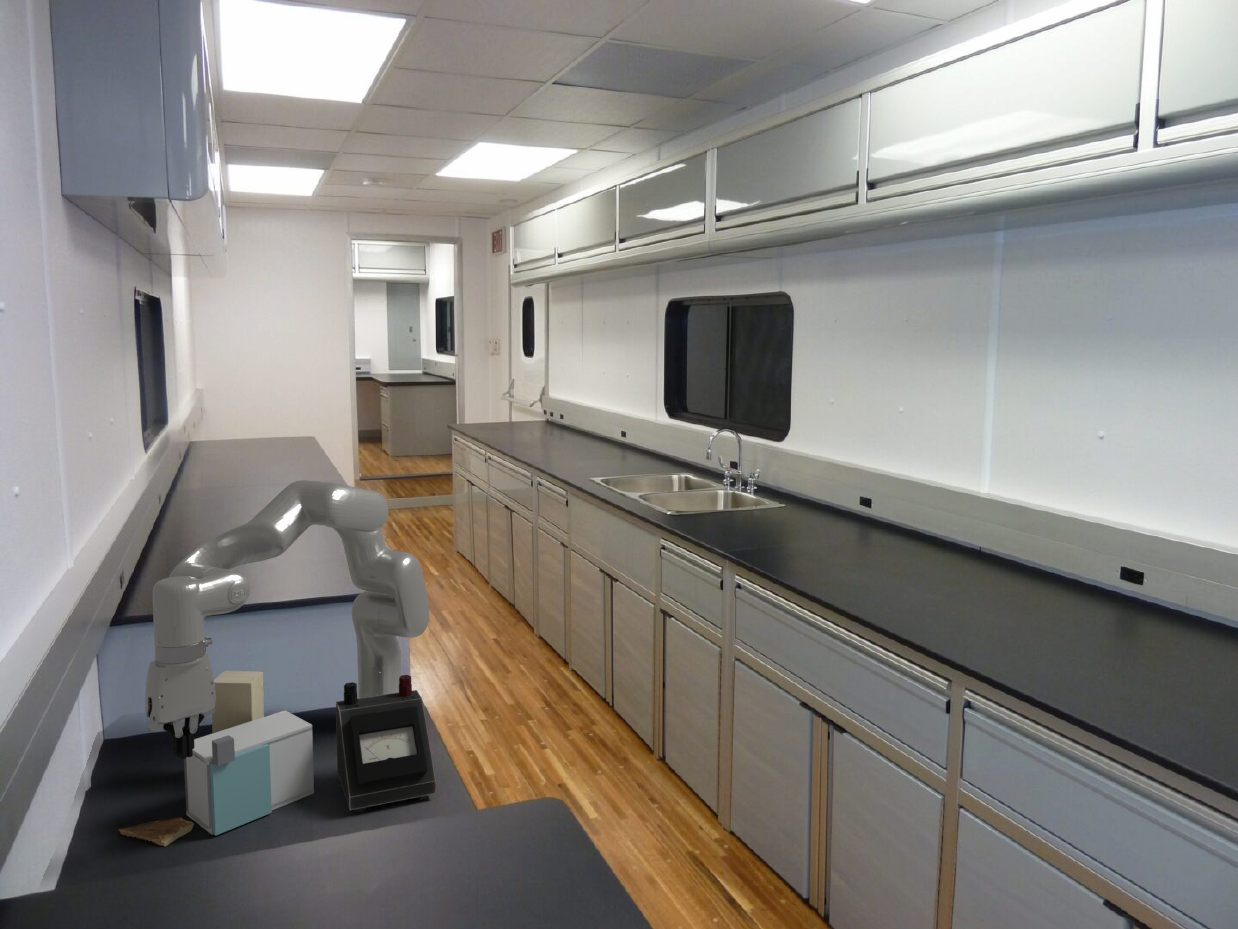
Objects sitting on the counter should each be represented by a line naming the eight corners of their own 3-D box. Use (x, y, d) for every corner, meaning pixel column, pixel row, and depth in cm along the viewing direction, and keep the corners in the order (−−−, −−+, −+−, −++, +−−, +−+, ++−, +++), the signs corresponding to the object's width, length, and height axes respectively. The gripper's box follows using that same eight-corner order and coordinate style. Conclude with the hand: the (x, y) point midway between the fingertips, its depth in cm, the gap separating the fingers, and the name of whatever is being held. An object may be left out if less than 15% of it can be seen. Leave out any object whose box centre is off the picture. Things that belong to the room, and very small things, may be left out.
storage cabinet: (287, 776, 179) (285, 710, 177) (314, 793, 173) (312, 725, 171) (186, 815, 164) (183, 743, 162) (212, 835, 158) (208, 760, 156)
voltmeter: (350, 818, 164) (347, 715, 162) (337, 778, 179) (335, 683, 176) (436, 801, 171) (435, 702, 168) (417, 764, 186) (416, 672, 183)
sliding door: (268, 810, 165) (265, 723, 163) (274, 814, 164) (271, 726, 162) (212, 833, 157) (208, 741, 155) (218, 837, 156) (214, 745, 154)
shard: (118, 836, 157) (117, 827, 157) (154, 816, 164) (154, 806, 164) (163, 850, 153) (162, 841, 153) (199, 829, 160) (198, 819, 160)
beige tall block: (267, 767, 183) (264, 669, 180) (254, 784, 176) (250, 683, 173) (228, 767, 183) (224, 669, 180) (213, 784, 175) (209, 683, 172)
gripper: (213, 636, 157) (216, 735, 159) (123, 656, 145) (127, 763, 147) (234, 646, 152) (237, 748, 154) (142, 668, 140) (146, 778, 143)
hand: (183, 755), depth 151 cm, fingers closed
